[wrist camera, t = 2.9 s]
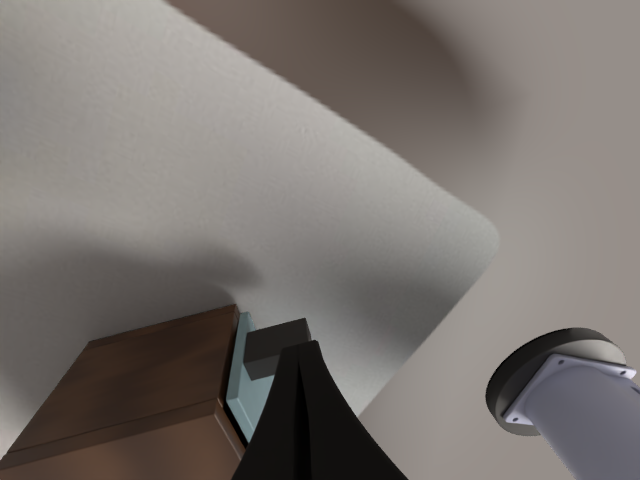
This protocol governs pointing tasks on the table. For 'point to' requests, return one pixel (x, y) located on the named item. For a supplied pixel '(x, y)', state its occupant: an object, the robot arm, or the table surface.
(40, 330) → the table surface
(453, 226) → the table surface
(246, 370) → the glass door
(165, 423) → the cabinet
